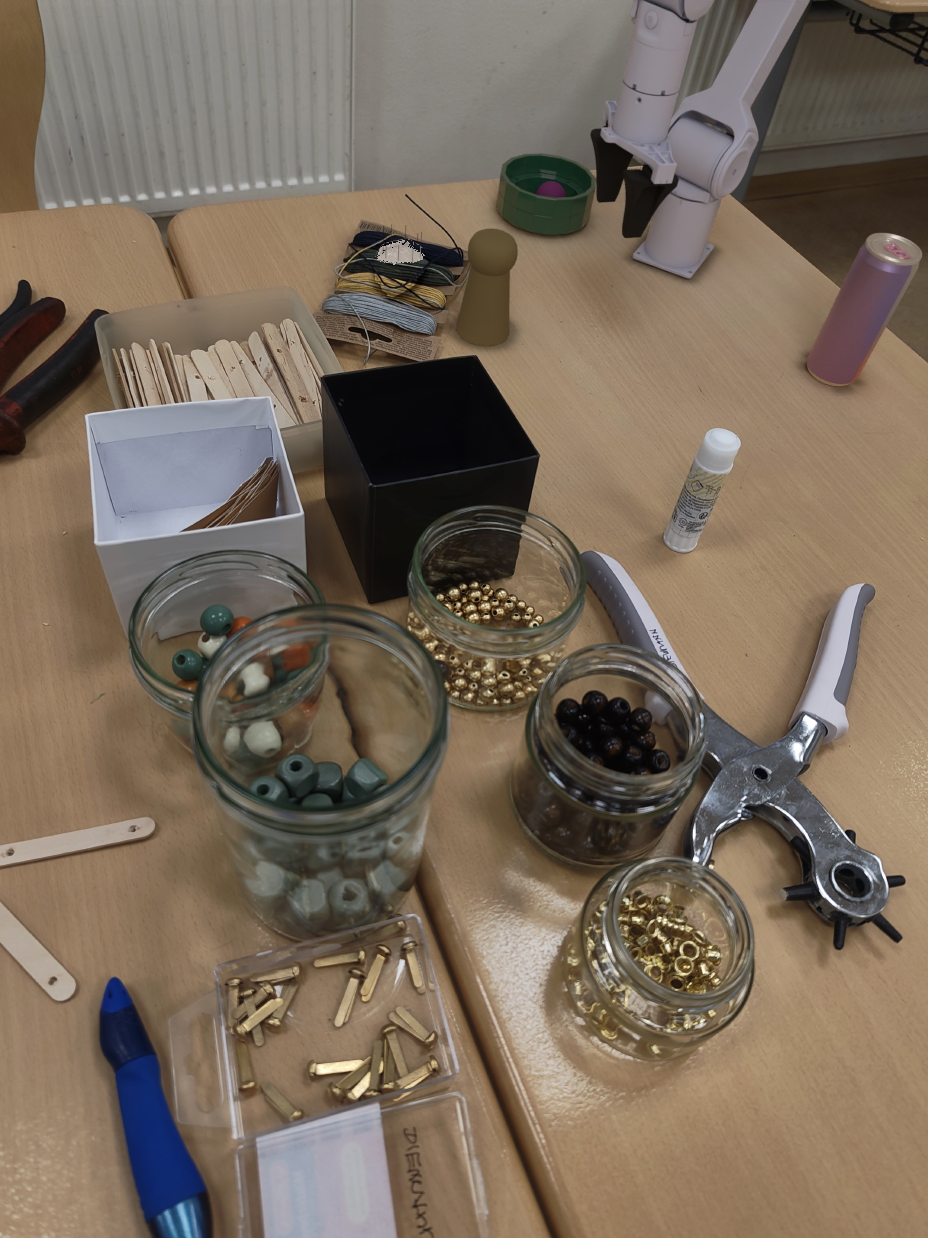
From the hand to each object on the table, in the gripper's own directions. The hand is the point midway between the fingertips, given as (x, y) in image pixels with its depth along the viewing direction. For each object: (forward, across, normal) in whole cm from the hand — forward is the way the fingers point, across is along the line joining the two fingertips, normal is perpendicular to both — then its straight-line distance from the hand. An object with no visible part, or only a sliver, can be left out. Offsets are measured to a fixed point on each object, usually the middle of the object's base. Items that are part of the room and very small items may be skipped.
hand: (618, 217), depth 96 cm
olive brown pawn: (+10, +5, -16) cm, 20 cm away
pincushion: (+10, -7, -23) cm, 26 cm away
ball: (+9, -19, -1) cm, 21 cm away
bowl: (+9, -19, -1) cm, 21 cm away
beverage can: (+10, +18, +21) cm, 30 cm away
